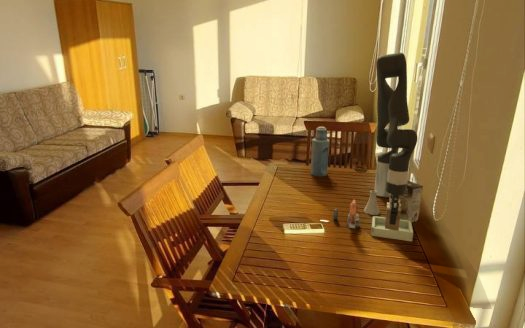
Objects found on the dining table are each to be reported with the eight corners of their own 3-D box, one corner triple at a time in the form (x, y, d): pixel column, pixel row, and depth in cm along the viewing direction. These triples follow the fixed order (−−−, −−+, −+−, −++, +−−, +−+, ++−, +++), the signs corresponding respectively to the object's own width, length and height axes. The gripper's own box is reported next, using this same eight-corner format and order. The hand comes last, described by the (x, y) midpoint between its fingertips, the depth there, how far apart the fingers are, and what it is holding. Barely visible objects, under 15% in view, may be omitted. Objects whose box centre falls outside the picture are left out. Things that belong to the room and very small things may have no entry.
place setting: (342, 175, 220) (342, 165, 218) (352, 167, 236) (352, 158, 235) (371, 179, 211) (372, 170, 210) (379, 171, 228) (380, 162, 226)
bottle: (317, 174, 219) (320, 124, 211) (330, 178, 212) (333, 127, 203) (306, 177, 213) (309, 126, 205) (319, 181, 206) (322, 129, 197)
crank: (348, 217, 153) (350, 192, 150) (359, 218, 152) (361, 193, 149) (345, 229, 142) (347, 202, 139) (357, 231, 141) (359, 204, 138)
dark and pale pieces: (321, 217, 158) (322, 206, 157) (359, 222, 154) (360, 211, 152) (319, 223, 153) (320, 212, 151) (358, 228, 148) (359, 217, 147)
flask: (380, 216, 160) (382, 195, 158) (363, 214, 162) (365, 193, 159) (379, 210, 167) (381, 189, 165) (363, 208, 169) (364, 188, 166)
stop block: (384, 223, 148) (387, 202, 146) (398, 225, 147) (400, 204, 144) (384, 228, 144) (387, 207, 141) (398, 230, 142) (401, 208, 140)
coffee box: (391, 215, 161) (395, 181, 157) (401, 213, 164) (406, 179, 160) (407, 223, 153) (412, 187, 149) (418, 220, 156) (423, 185, 152)
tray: (371, 223, 153) (372, 215, 153) (410, 228, 149) (411, 220, 148) (371, 235, 142) (371, 227, 142) (412, 241, 138) (413, 233, 137)
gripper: (386, 174, 148) (382, 213, 152) (386, 185, 134) (382, 227, 139) (406, 176, 145) (401, 215, 150) (408, 187, 132) (403, 230, 137)
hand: (392, 221), depth 145 cm, fingers closed on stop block, 5 cm apart
